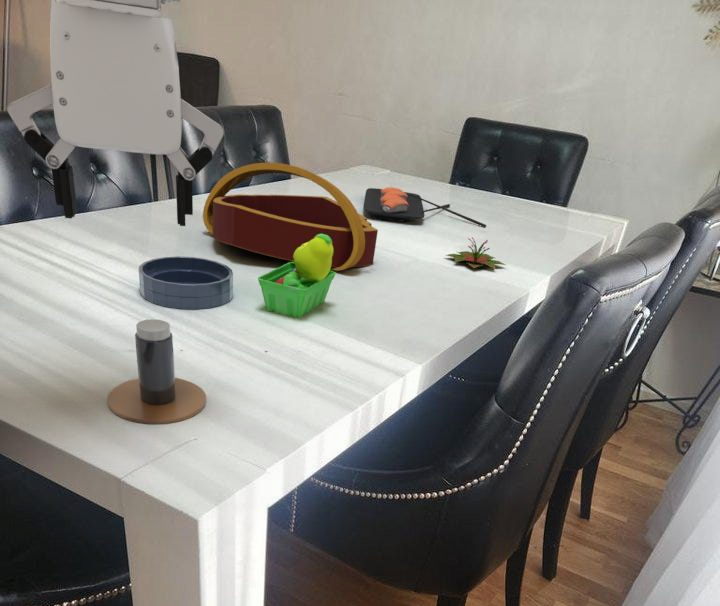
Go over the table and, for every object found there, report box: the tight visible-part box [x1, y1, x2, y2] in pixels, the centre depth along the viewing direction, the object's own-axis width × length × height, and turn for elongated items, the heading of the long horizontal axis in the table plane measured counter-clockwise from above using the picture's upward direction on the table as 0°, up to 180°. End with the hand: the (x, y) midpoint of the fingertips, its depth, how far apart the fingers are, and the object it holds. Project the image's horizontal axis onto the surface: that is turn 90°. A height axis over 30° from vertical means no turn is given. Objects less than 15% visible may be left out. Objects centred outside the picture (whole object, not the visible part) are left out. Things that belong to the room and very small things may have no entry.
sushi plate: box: [363, 186, 487, 228], centre depth 160 cm, size 29×30×4 cm
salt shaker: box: [134, 318, 176, 405], centre depth 66 cm, size 4×4×8 cm
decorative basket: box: [202, 162, 379, 272], centre depth 116 cm, size 34×29×15 cm
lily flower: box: [446, 236, 507, 270], centre depth 127 cm, size 12×12×5 cm
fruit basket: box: [257, 234, 337, 319], centre depth 93 cm, size 11×9×11 cm
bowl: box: [138, 255, 234, 310], centre depth 94 cm, size 13×13×4 cm
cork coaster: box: [107, 377, 207, 425], centre depth 69 cm, size 10×10×1 cm
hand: (127, 218), depth 60 cm, fingers open, 9 cm apart
